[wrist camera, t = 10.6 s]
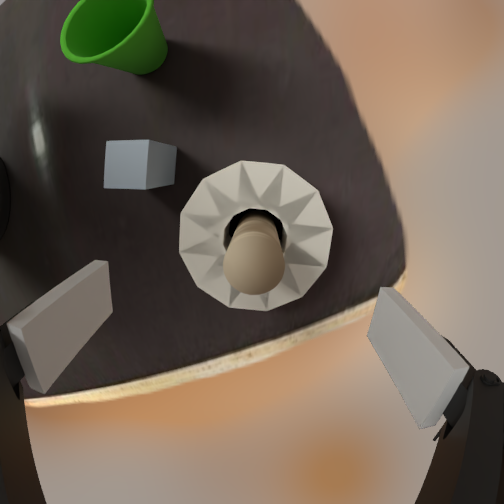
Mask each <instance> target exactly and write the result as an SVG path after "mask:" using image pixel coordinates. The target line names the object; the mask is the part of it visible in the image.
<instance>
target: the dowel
mask: <svg viewBox="0 0 504 504" xmlns="http://www.w3.org/2000/svg"><path fill="white" fill-rule="evenodd" d="M223 270H224V274H225V277H226V279H227V281H228V282H229V283H230V285H231V286H232V287H233V288H235V289H236V290H238V291H240V292H242V293H244V294H249V295H260V294H264V293H267V292H269V291H271V290H272V289H274V288H275V287H276V286H277V285H278V284H279V282H280V281H281V279H282V277H283V275H284V271H285V261H284V256H283V253H282V249H281V245H280V241H279V238H278V234H277V230H276V227H275V223H274V221H273V219H272V218H271V217H270V216H269V215H268V214H266V213H264V212H261V211H251V212H249V213H247V214H245V215H244V216H243V217H242V218H241V219H240V221H239V223H238V225H237V228H236V230H235V232H234V235H233V237H232V240H231V242H230V244H229V247H228V249H227V251H226V254H225V256H224V260H223Z"/></svg>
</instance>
